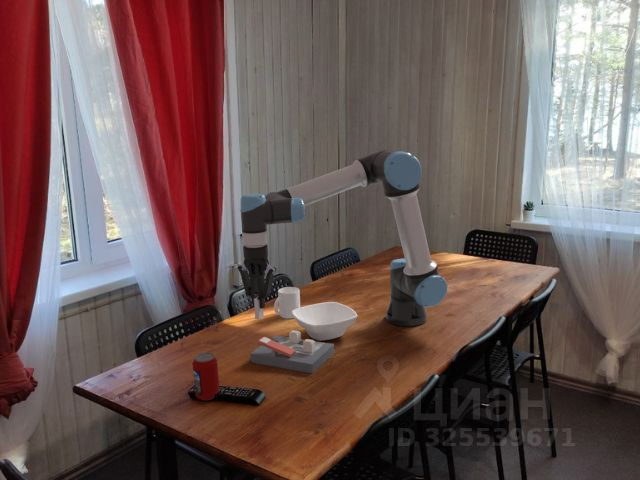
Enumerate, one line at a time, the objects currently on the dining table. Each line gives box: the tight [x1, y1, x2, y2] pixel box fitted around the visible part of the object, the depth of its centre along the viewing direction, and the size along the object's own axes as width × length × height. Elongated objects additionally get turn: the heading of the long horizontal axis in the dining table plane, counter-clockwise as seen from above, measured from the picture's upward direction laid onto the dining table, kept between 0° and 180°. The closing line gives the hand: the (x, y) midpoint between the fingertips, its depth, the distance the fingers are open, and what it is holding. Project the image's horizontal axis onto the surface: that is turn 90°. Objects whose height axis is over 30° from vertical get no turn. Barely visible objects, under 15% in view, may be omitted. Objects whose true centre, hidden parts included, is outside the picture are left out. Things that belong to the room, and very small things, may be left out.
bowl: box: [292, 301, 358, 342], centre depth 199 cm, size 21×21×9 cm
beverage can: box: [192, 352, 220, 401], centre depth 159 cm, size 7×7×12 cm
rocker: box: [256, 336, 296, 357], centre depth 179 cm, size 12×4×1 cm, turn 65°
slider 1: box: [288, 330, 302, 343], centre depth 187 cm, size 3×2×3 cm
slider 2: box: [303, 338, 316, 353], centre depth 179 cm, size 3×2×3 cm
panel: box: [249, 334, 335, 374], centre depth 182 cm, size 22×16×4 cm
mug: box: [273, 286, 301, 320], centre depth 218 cm, size 12×8×10 cm
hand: (259, 317), depth 179 cm, fingers closed
